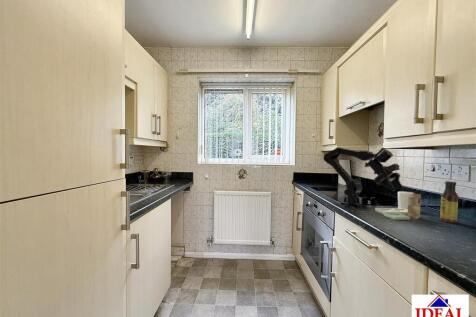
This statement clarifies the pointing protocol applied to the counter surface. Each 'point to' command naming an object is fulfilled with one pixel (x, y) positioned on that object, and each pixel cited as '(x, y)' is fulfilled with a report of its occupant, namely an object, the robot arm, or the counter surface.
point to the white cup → (403, 199)
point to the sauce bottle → (449, 203)
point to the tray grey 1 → (385, 210)
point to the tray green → (397, 216)
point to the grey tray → (401, 210)
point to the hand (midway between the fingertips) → (398, 189)
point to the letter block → (414, 205)
